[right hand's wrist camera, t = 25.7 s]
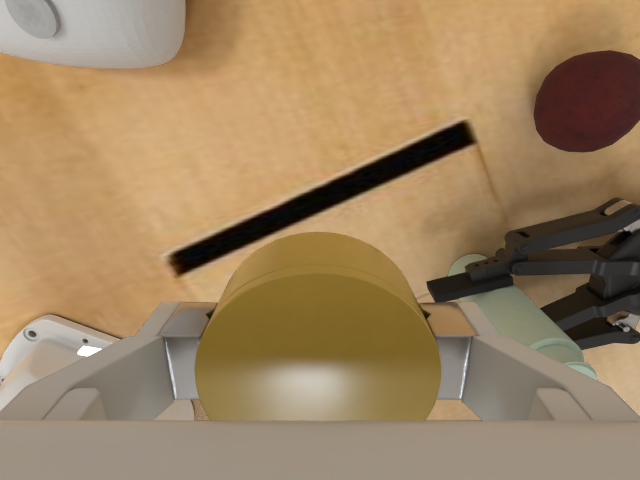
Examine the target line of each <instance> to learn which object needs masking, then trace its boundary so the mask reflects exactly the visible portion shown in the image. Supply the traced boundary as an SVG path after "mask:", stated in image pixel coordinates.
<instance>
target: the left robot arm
mask: <svg viewBox="0 0 640 480" xmlns="http://www.w3.org/2000/svg"><path fill="white" fill-rule="evenodd" d="M614 232H618V233H617V234H615V235H614V236H613V237H612V238H611V239H610V240H609V241H608V242H606V243H605V244H604V245H603V246H584V247H577V249H559V250H546V249H550V248H554V247H558V246H562V245H566V244H570V243H574V242H579V241H583V240H587V239H591V238H595V237H599V236H603V235H607V234H611V233H614ZM505 241H506V246H505V249H504V248H500V249H499V250H498V251H497V252H496V254H495V255H496V257H492V258H488V259H484V260H480V261H477V262H472V263H469V264H468V265H466V266H465V272H464V273H460V274H456V275H452V276H447V277H443V278H439V279H435V280H431V281H427V287H428V290H429V292H430V294H431V295H432V297H433V299H434V301H435V302H436V303H439V302H446V301H450V300H455V299H459V298H463V297H467V296H471V295H475V294H480V293H484V292H488V291H492V290H496V289H500V288H504V287H509V286H513V277H511V276H510V274H515V275H518V276H520V275H553V274H587V273H590V274H591V276H590V280H589V283H586V284H584V285H582V286H580V287H578V288H577V289H576V292H575V293H573V294H571V295H569V296H566V297H564V298H562V299H560V300H557V301H555V302H553V303H551V304H548V305H546V306H544V307H542V308H540V309H541V310H542V311H543V312H544V313H545V314H546V315H547V316H548V317H549V318H550V319H551V320H552V321H553V322H554V323H555V324H556V325H557V326H558V327H559V328H560V329H561V330H562V331H563V332H564V333H565V334H566V335H567V336H568V337H569V338H570V339H572V340H573V341H574V342H575V343H576V344H577V345H578V346H579V348H580V349H581V350H584V349H588V348H593V347H597V346H602V345H606V344H611V343H626V344H635V343H638V342H639V341H640V333H639V332H637V331H636V330H635V328H636V326H637V323H638V321H639V319H640V205H637V204H634V203H632V202H629V201H626V200H623V199H620V198H614V199H612V200H610V201H608V202H606V203H605V204H603V205H601V206H600V207H598V208H596V209H594V210H592V211H588V212H584V213H580V214H576V215H573V216H569V217H565V218H561V219H557V220H553V221H549V222H545V223H541V224H537V225H533V226H529V227H525V228H521V229H517V230H513V231H510V232H508V233H507V234H506V235H505ZM620 311H621V312H620ZM618 312H619V313H618ZM615 313H617V314H615Z"/></svg>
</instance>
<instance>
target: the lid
mask: <svg viewBox="0 0 640 480" xmlns="http://www.w3.org/2000/svg"><path fill="white" fill-rule="evenodd" d="M194 373H195V384H196V388H197V393H198V397H199V399H200V402H201V404H202V407H203V409H204V411H205V412H206V414H207V416H208V417H209V419H210V420H426V419H427V417H428V416H429V414H430V412H431V410H432V409H433V407H434V404H435V401H436V399H437V396H438V392H439V388H440V383H441V360H440V354H439V350H438V346H437V343H436V341H435V338H434V336H433V334H432V332H431V330H430V328H429V326H428V323H427V321H426V319H425V317H424V315H423V313H422V311H421V309H420V307H419V304H418V302H417V300H416V298H415V296H414V294H413V292H412V290H411V288H410V285H409V283H408V281H407V279H406V278H405V276H404V275H403V273H402V272H401V270H400V269H399V268H398V267H397V266H396V265H395V263H394V262H393V261H392V260H391V259H389V258H388V257H387V256H386V255H385V254H384V253H382V252H381V251H379V250H378V249H376V248H375V247H373V246H371V245H370V244H367V243H365V242H363V241H361V240H359V239H356V238H352V237H349V236H346V235H341V234H336V233H327V232H309V233H300V234H295V235H290V236H287V237H284V238H281V239H278V240H275V241H273V242H271V243H269V244H267V245H265V246H263V247H262V248H260V249H259V250H257V251H256V252H254V253H253V254H252V255H250V256H249V257H248V258H247V259H246V260H245V261H244V262H243V263H242V264H241V265H240V266H239V267H238V268H237V270H236V271H235V272H234V274H233V276H232V277H231V279H230V280H229V282H228V284H227V286H226V288H225V290H224V292H223V294H222V296H221V298H220V300H219V302H218V304H217V306H216V309H215V311H214V313H213V315H212V317H211V319H210V321H209V323H208V325H207V327H206V329H205V331H204V333H203V335H202V338H201V340H200V342H199V345H198V349H197V353H196V357H195V367H194Z"/></svg>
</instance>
